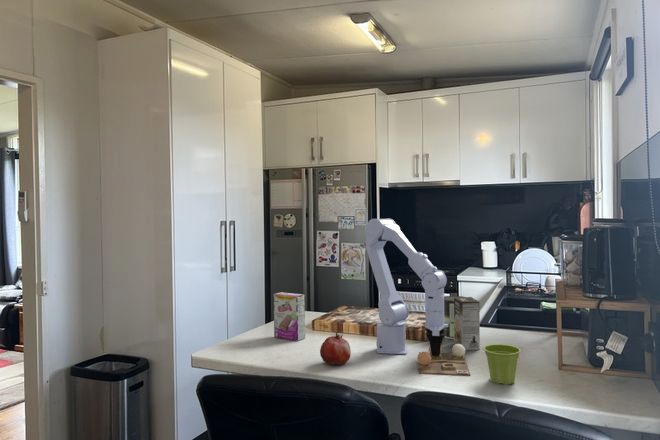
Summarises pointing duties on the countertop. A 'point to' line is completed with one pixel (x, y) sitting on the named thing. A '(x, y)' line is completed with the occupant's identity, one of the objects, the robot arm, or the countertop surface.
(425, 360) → the terracotta ball
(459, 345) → the cream ball
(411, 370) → the countertop surface
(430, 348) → the terracotta ball
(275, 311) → the candy bar box
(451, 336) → the coffee can
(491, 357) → the plant pot
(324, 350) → the fruit
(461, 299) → the coffee box
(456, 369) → the board
